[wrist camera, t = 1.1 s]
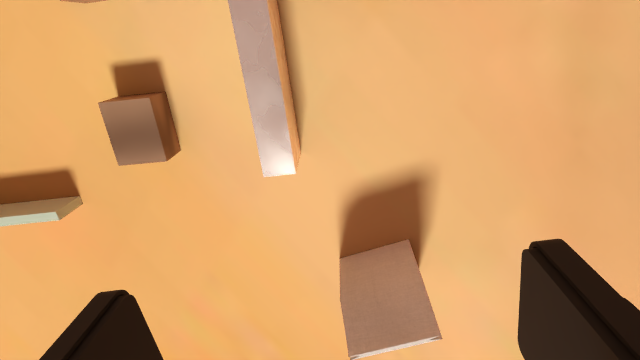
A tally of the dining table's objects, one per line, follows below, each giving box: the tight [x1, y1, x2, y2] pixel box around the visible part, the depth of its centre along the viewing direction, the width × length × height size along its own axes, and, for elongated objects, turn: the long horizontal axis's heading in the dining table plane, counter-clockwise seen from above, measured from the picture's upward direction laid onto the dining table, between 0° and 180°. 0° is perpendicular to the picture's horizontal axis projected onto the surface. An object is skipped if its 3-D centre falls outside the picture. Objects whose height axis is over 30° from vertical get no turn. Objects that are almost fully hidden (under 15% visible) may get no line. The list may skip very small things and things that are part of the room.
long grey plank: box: [228, 0, 301, 177], centre depth 26 cm, size 20×2×5 cm, turn 7°
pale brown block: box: [340, 239, 442, 360], centre depth 31 cm, size 4×7×10 cm, turn 110°
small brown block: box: [98, 92, 181, 166], centre depth 30 cm, size 5×4×3 cm
